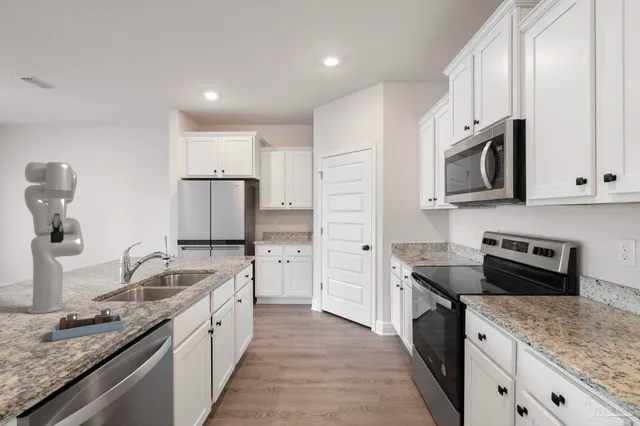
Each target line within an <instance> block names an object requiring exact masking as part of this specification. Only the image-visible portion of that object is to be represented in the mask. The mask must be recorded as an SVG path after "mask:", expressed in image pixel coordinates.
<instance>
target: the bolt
mask: <svg viewBox="0 0 640 426" xmlns="http://www.w3.org/2000/svg"><path fill="white" fill-rule="evenodd" d="M110 322H113V316H104V317H101V314H96V315H94V317H89V318H81V319H78V318H77V320H67V316H65V317H61V318H59V322H58V323H59V330H65V329H72V328H78V327H84V326H91V325H97V324H103V323H110Z"/></svg>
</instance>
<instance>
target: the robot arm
mask: <svg viewBox="0 0 640 426" xmlns="http://www.w3.org/2000/svg"><path fill="white" fill-rule="evenodd" d="M24 177H25V180H26V181H27V182H28V183H31V185H29V186H27V187H26V188H25V190H24V192H23V193H24V197H23V198H24V203H25V205H26V207H27V210H29V212H30V214H31V215H32V221H33V231H34V234H35V237H34V238H32V240H31V242H30V249H31V250H30V251H31V256H32V268H33V269H32V271H33V272H32V306H31V307H29V308H27V310H26V311H27V313H28V314H46V313H54V312H57V311H62V310H64V309H65V308H67V304H68V303H65V302H63V277H64V276H63V274H64V273H63V272H64V271H63V270H64V269H63V268H64V267H63V266H62V265H63V264H61V262H60V261H58V260H57V259H56V258H59V257H60V258H61V257H74V256H79V255H81V254H82V253H83V251H84V239H83V235H82V230H81V224H80V222H79V220H78V219H76V218H74V217H67V209H68V204H71V203H72V202H73V201H74V198H75V194H76V187H77V184H78V176H77V173H76V172H75V171H74V170H73V169H72V166H71V164H69V163H66V162H61V161H59V162H58V161H50V162H49V161H48V162H47V163H46V162H36V161H31V162H30V161H29V162H28V163H27V164H26V166H25V168H24ZM32 184H33V185H32Z"/></svg>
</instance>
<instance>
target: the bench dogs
mask: <svg viewBox="0 0 640 426" xmlns="http://www.w3.org/2000/svg"><path fill="white" fill-rule="evenodd" d="M100 315H101V317H103V316H109V315H111V308H105V309H104V308H103V309H102V310H100ZM77 319H78V313H69V314H67V315H66V320H77Z"/></svg>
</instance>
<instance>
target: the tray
mask: <svg viewBox="0 0 640 426" xmlns="http://www.w3.org/2000/svg"><path fill="white" fill-rule="evenodd" d="M109 316H113V322H110V323H103V324H97V325H91V326H84V327H78V328H72V329H65V330H59V323H60V322H56V323H54V326H53V329H52V339H51V341H52V342H57V341H65V340H70V339H74V338H80V337H86V336H92V335H98V334H99V335H100V334H105V333H109V332H115V331H120V330H124V319H123V317H122V313H117V314H110V315H109ZM103 317H104V316H103ZM69 338H70V339H69Z"/></svg>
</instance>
